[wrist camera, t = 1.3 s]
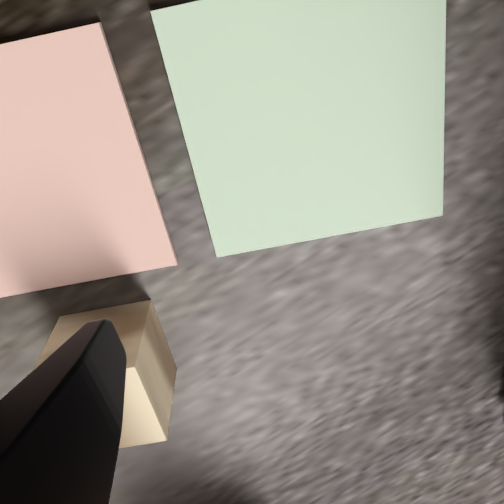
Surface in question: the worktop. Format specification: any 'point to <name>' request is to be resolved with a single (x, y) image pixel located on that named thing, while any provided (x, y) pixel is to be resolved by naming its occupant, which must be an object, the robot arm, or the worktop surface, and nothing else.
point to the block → (133, 367)
